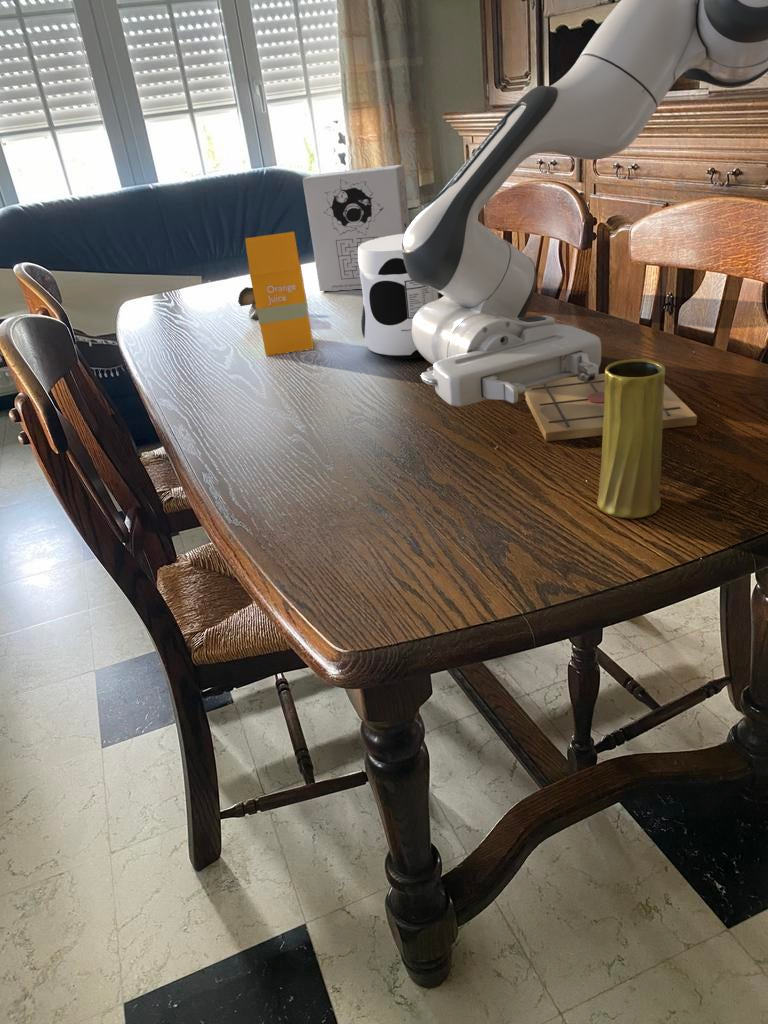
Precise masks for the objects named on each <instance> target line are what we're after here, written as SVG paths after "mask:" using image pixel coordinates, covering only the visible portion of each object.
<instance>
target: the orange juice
mask: <svg viewBox="0 0 768 1024" xmlns="http://www.w3.org/2000/svg"><path fill="white" fill-rule="evenodd" d="M244 241H245V249H246V255H247V262H248V270H249V278H250V282H251V288H253V292H254V297H255V302H256V307H257V314H258V319H259V321H258V323H259V327H260V332H261V338H262V342H263V348H264V353H265V356H266V357H269V356H268V355H271V356H276V355H275V354H278V355H282V354H281V353H285V354H288V353H287V352H292V353H295V352H294V351H299V352H302V351H301V350H306V349H312V348H313V349H314V338H313V331H312V326H311V319H310V313H309V306H308V300H307V293H306V290H305V283H304V277H303V271H302V265H301V260H300V256H299V250H298V246H297V241H296V234H295V231H288V232H281V233H274V234H265V235H260V236H252V237H245V238H244ZM306 351H307V350H306Z"/></svg>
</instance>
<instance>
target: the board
mask: <svg viewBox="0 0 768 1024" xmlns="http://www.w3.org/2000/svg"><path fill="white" fill-rule="evenodd" d="M604 393H605V372H604V373H599V377H598V379H597V380H593V381H589V382H584V381H581V380H579V379H578V376H571V377H567V378H563V379H560V380H556V381H553V382H549V383H546V384H542V385H538V386H535V387H531V388H528V389H526V391H525V393H524V394H525V395H526V399H525V400H524V401H525V402H526V404H527V407H528V408H529V411H530V413H531V415H532V416H533V419H534V420H535V423H536V425H537V426H538V427H537V428H538V429H539V431H540V433H541V435H542V437H543V439H544V441H545V443H547V442H555V441H556V442H557V441H565V440H572V439H573V440H574V439H584V438H593V437H601V436H602V437H603V422H604ZM697 424H698V415H697V414H695V412H693V410H691V408H690V407H688V405H687V404H686V403H684V402H683V400H682V399H681V398H680V397H678V395H677V394H676V393H675V392H674V391H673V390H672V389H671V388H670V387H669V386H668V385H666V384H665V383H664V398H663V428H662V430H665V429H673V428H674V429H675V428H681V427H693V426H697Z"/></svg>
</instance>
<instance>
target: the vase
mask: <svg viewBox="0 0 768 1024" xmlns="http://www.w3.org/2000/svg"><path fill="white" fill-rule="evenodd" d="M604 373H605V393H604V422H603V435H602V442H601V456H600V457H601V458H600V471H599V481H598V482H599V483H598V496H597V500H596V505H597V507H598V508H599V509H600V510H601V512H603V513H605V514H606V515H609V516H611V517H615V518H619V519H630V520H631V519H633V520H634V519H635V520H636V519H641V518H647V517H649V516H652V515H654V514H656V513H657V511H659V510H660V508H661V506H662V500H661V495H660V491H661V490H660V489H661V481H662V480H661V478H662V454H663V453H662V449H663V429H662V428H663V398H664V384H665V377H666V367H665V366H664V364H662V363H660V362H659V361H655V360H651V359H643V358H641V359H640V358H639V359H638V358H637V359H636V358H634V359H624V360H623V359H622V360H617V361H614V362H613V363H612V362H611V363H610V364H608V365H607V366H606V367H605V369H604Z"/></svg>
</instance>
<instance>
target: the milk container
mask: <svg viewBox="0 0 768 1024" xmlns="http://www.w3.org/2000/svg"><path fill="white" fill-rule="evenodd" d="M403 237H404V234H397V235H391V236H386V237H381V238H377V239H373V240H369V241H367V242H365V243H362V244H361V245H360V246H359V247H358V263H359V268H360V279H361V285H362V290H361V291H362V302H363V304H362V313H361V322H360V328H361V333H362V337H363V340H364V343H365V347H367V349H368V350H369V351H370V352H371V353H372V354H374V355H376V356H379V357H381V358H386V359H393V360H403V359H404V360H406V359H407V360H411V359H418V358H419V359H420V358H424V357H423V356H422V355H421V354H420V352H419V351H418V350H417V348H416V346H415V344H414V341H413V337H412V322H413V319H414V316H415V314H416V313H417V311H418V310H419V309H420V308H421V307H422V306H424V305H425V304H427V303H430V302H433V301H436V300H438V299H440V298H442V297H443V296H444V295H442V294H441V293H439V292H438V291H434V290H432V289H430V288H427V287H425V286H423V285H421V284H419V283H417V282H415V281H413V280H412V279H411V278H410V277H409V275H408V273H407V270H406V267H405V264H404V260H403V255H402V240H403Z"/></svg>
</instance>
